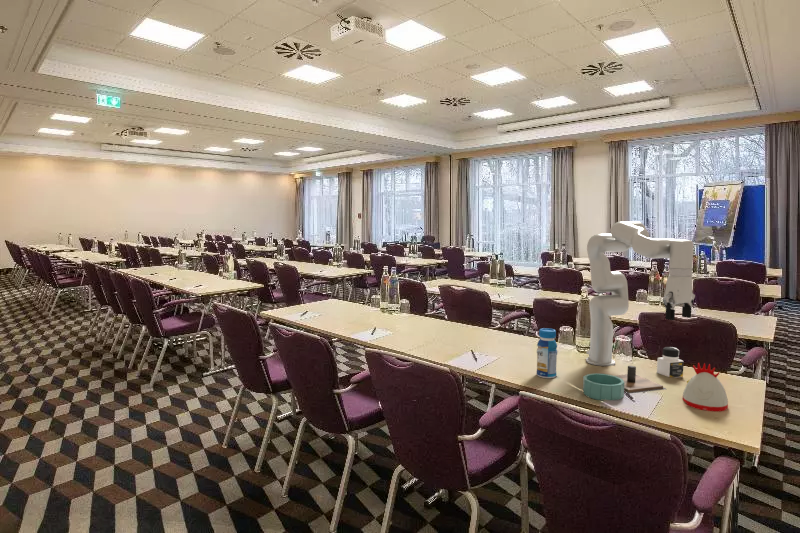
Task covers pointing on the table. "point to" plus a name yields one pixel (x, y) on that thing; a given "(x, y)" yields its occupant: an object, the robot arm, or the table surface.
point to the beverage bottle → (546, 353)
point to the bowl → (603, 387)
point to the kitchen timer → (705, 391)
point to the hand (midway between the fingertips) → (678, 318)
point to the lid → (637, 381)
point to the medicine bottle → (670, 363)
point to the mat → (645, 391)
